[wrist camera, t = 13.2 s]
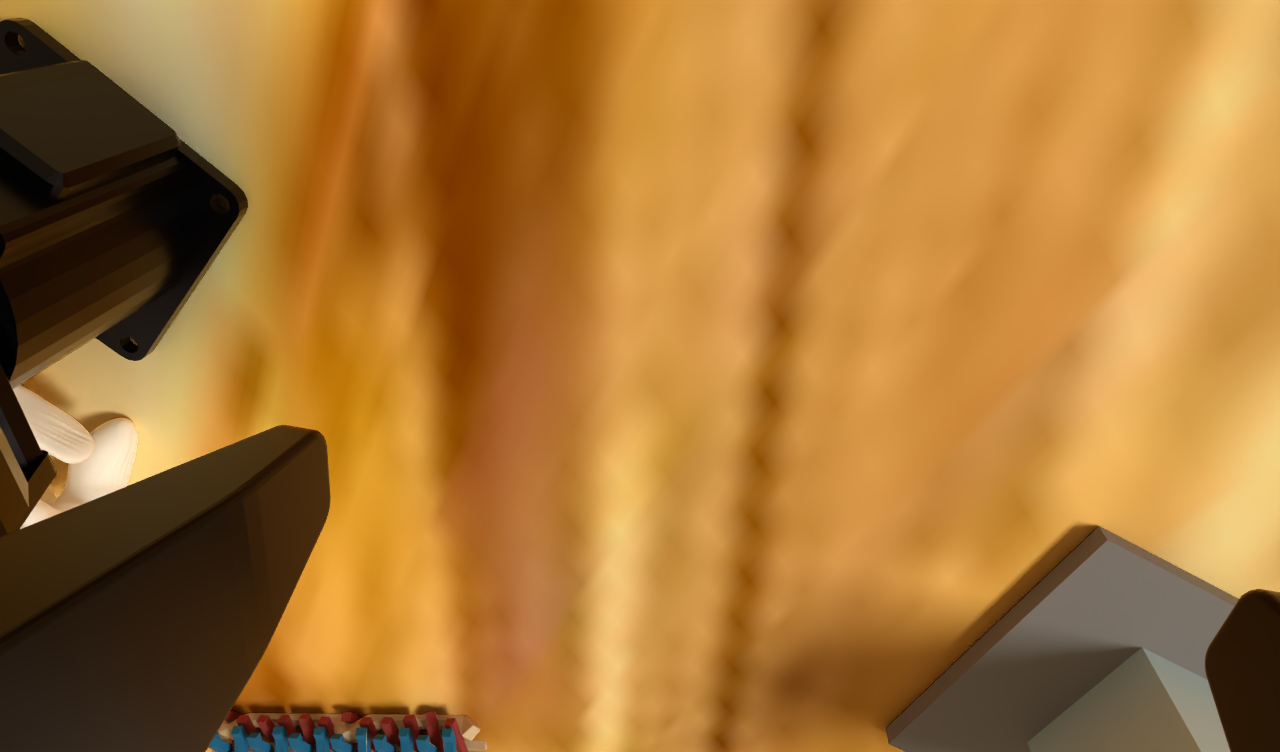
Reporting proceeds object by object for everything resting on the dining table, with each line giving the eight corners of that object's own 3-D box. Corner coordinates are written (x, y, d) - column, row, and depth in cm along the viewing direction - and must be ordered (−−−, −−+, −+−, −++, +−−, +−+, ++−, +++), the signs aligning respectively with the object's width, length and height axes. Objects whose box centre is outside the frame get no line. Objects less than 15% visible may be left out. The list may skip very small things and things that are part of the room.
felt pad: (885, 728, 27) (888, 743, 27) (1098, 526, 23) (1107, 540, 22) (1126, 839, 29) (1133, 856, 28) (1374, 669, 24) (1388, 685, 24)
